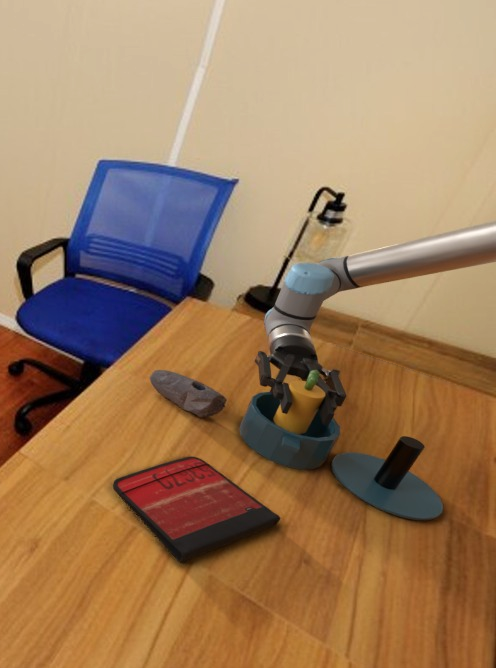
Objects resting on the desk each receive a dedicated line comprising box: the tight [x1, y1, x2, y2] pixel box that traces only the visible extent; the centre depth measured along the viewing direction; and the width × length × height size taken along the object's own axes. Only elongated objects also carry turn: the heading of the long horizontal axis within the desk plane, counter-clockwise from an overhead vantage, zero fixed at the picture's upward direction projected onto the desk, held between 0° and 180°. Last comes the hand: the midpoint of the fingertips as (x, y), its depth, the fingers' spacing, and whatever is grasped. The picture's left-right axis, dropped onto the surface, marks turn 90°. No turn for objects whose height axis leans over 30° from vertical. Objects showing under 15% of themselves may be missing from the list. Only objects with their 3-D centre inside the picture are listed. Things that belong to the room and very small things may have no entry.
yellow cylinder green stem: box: [273, 370, 325, 434], centre depth 96 cm, size 5×5×13 cm
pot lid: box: [330, 435, 444, 521], centre depth 89 cm, size 15×15×11 cm
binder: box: [112, 456, 281, 563], centre depth 88 cm, size 16×2×21 cm
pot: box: [238, 391, 342, 471], centre depth 100 cm, size 14×19×8 cm
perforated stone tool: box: [149, 369, 228, 418], centre depth 111 cm, size 15×5×7 cm, turn 29°
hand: (307, 413), depth 92 cm, fingers closed on yellow cylinder green stem, 5 cm apart
